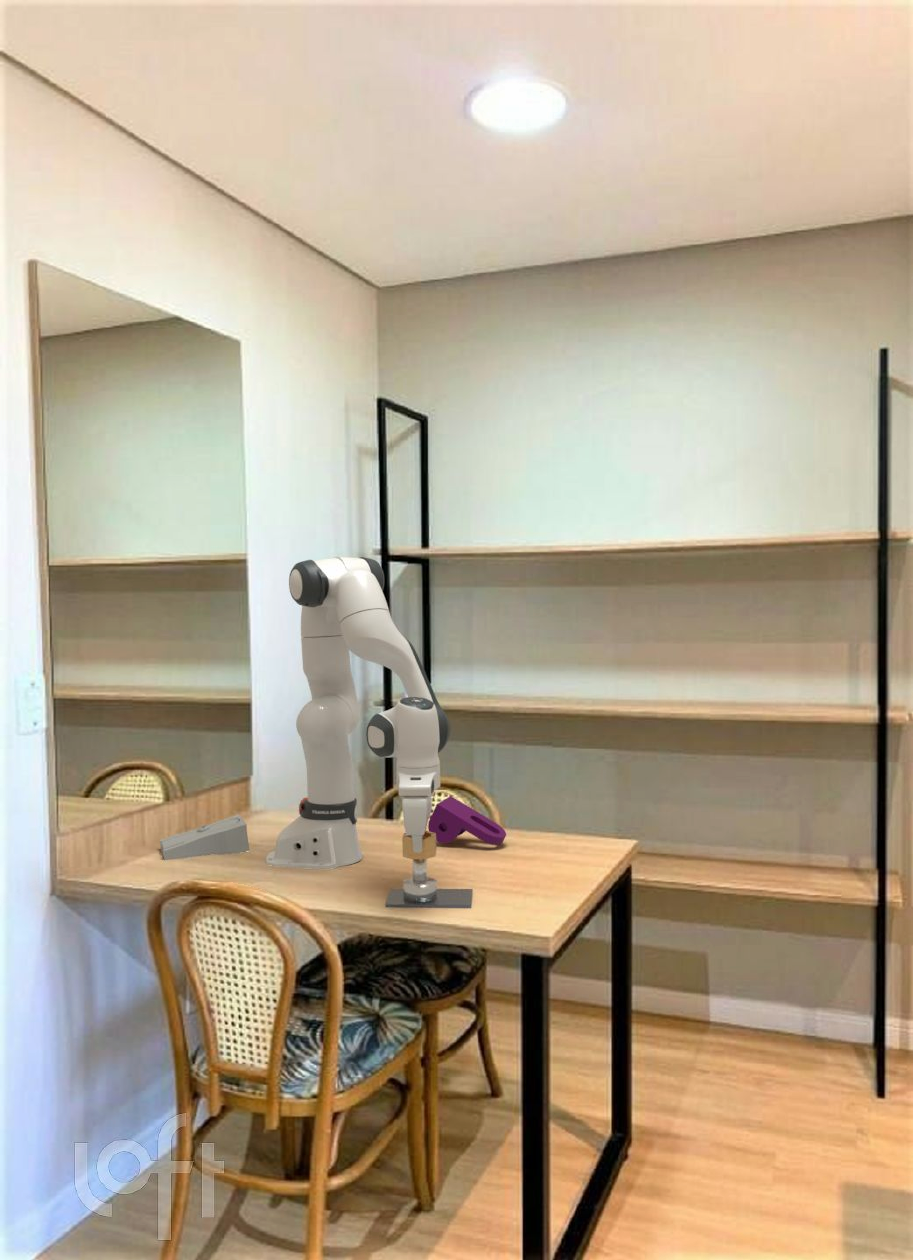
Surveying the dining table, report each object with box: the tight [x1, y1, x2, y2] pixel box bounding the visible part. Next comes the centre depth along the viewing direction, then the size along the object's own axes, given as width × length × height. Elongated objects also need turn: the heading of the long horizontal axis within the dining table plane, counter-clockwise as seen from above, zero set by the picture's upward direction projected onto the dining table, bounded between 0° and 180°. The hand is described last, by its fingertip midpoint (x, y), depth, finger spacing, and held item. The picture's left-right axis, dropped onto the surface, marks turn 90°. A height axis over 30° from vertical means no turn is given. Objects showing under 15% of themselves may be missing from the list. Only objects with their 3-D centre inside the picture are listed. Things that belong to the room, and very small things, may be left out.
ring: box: [401, 830, 437, 860], centre depth 198 cm, size 7×7×4 cm
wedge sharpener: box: [159, 814, 250, 861], centre depth 239 cm, size 11×20×7 cm, turn 111°
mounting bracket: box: [427, 795, 507, 846], centre depth 244 cm, size 9×8×18 cm
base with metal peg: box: [384, 859, 474, 909], centre depth 198 cm, size 17×10×9 cm, turn 87°
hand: (419, 846), depth 198 cm, fingers closed on ring, 6 cm apart
